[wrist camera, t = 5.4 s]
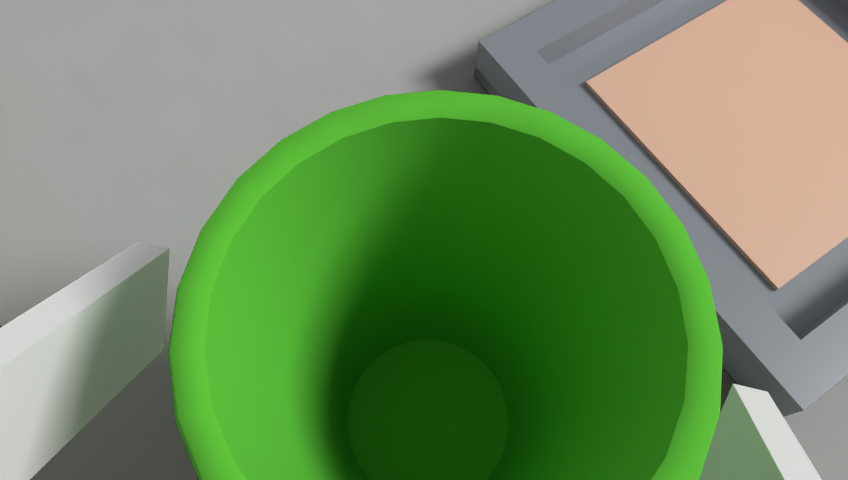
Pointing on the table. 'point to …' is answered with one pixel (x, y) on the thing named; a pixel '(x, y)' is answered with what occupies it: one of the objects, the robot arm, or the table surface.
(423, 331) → the cup
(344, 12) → the table surface
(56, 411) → the robot arm
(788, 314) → the gray picture frame
